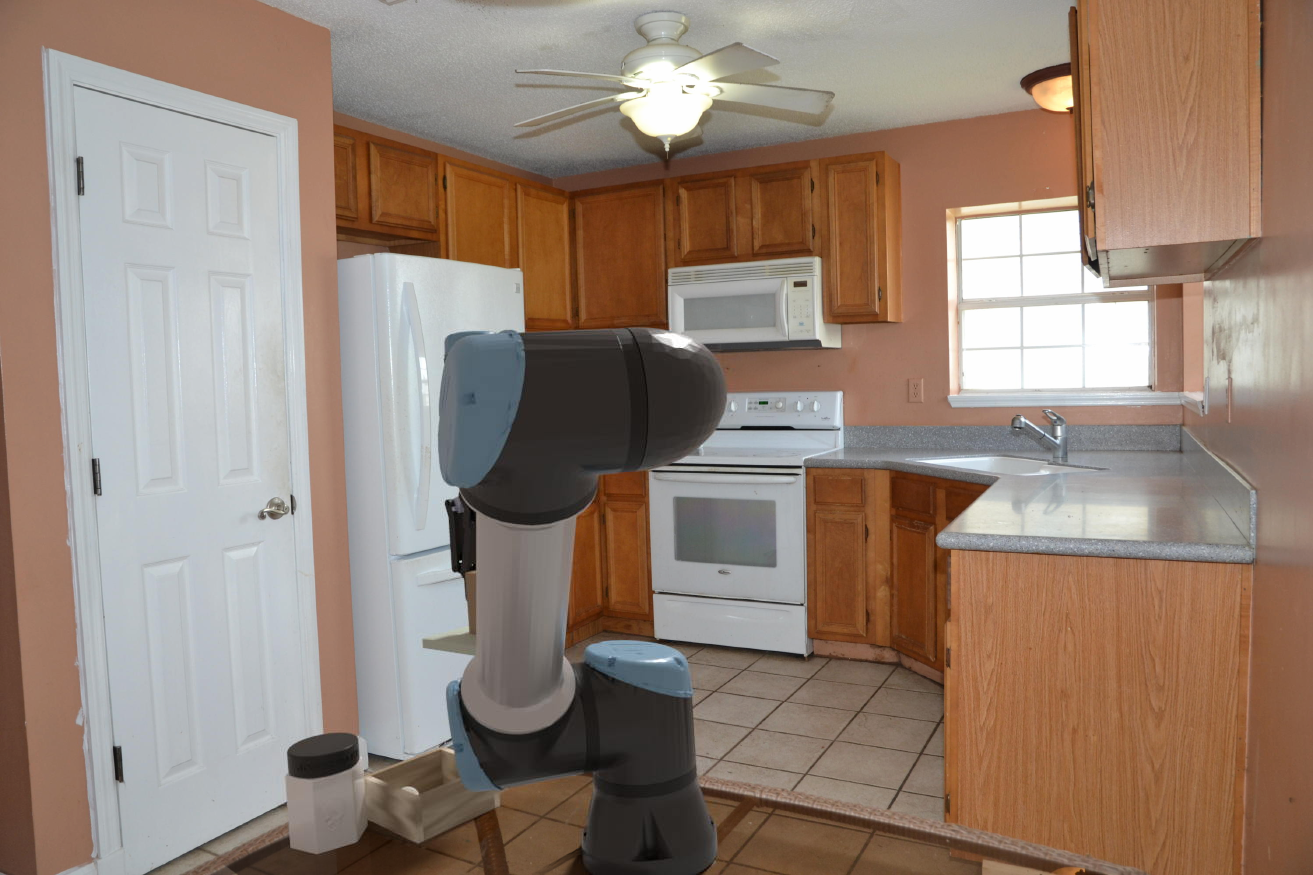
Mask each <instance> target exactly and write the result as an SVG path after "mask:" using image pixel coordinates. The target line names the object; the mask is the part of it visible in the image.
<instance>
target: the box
mask: <svg viewBox="0 0 1313 875" xmlns="http://www.w3.org/2000/svg"><path fill="white" fill-rule="evenodd" d="M364 782H365V796H366V809H367V821H370V822H372V823H374V824H376V825H378V826H380V827H381V828H384V829H386V830H388V831H390V832H393V833H394V834H397V835H399V836H401V837H402V838H405V839H407V840H409V841H411V842H414V843H415V844H417V845H419V844H422V843H423V842H426V841H429V839H432V838H434V837H436V836H439V835H441V834H443V833H445V832H447V831H449V830H451V829H453V828H456V827H458V826H459V825H462V824H464V823H467V822H469V821H472V820H474V819H475V818H477V817H479V816H483V815H484V814H487V813H488V812H491V811H493V810H495V809H497V808H499V807H501V796H500V791H495V790H489V791H481V792H472V791H469V790H468V789H466V788H465V787H464V786H463V784H462V782H461V780H460V777H459V774H458V770H457V765H456V761H455V755H454V749H451V748H448V747H445V746H439V747H438V748H434V749H432V750H428V751H426V752H424V753H421V754H418V755H416V756H414V757H410V758H408V759H405V760H403V761H400V762H398V763H395V764H391V765H389V766H386V767H384V768H381V769H379V770H376V771H373V772H369V773H368V774H364ZM403 787H413V788H415V789H416V790H417V791H418V793H419V795H415V794H413V793H410V792H408V791H405V790H403V789H401V788H403Z"/></svg>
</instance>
